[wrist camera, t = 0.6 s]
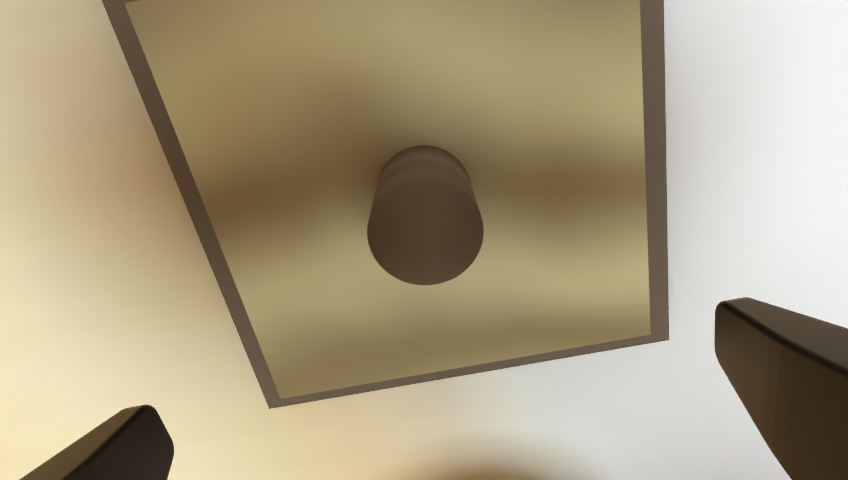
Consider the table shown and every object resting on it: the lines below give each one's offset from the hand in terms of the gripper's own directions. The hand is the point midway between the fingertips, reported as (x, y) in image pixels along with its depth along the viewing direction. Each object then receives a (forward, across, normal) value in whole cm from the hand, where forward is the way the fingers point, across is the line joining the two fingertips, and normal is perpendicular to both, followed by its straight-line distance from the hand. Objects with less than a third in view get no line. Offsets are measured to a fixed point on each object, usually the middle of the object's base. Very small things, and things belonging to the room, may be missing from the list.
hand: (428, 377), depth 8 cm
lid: (+10, 0, 0) cm, 10 cm away
